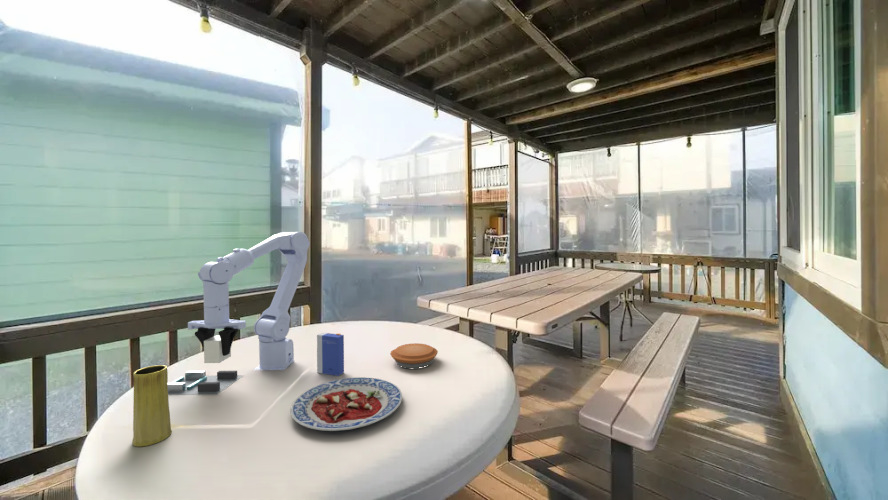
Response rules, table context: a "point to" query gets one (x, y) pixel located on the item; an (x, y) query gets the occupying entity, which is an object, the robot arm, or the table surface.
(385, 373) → the table surface
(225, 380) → the panel
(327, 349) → the walkman
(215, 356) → the plug
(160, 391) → the vase
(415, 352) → the pie
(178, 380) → the port
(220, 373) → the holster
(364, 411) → the ceramic plate
